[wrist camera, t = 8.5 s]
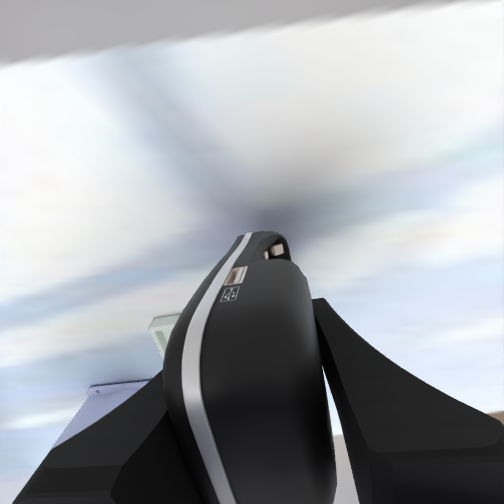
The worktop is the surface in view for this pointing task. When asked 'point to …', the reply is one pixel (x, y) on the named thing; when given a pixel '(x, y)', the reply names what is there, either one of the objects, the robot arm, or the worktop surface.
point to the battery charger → (252, 382)
